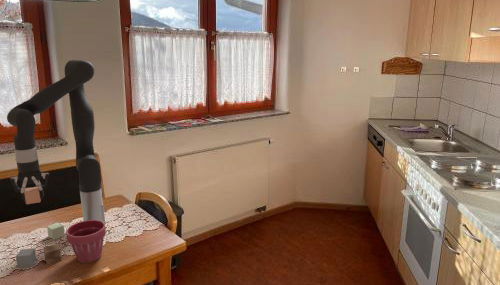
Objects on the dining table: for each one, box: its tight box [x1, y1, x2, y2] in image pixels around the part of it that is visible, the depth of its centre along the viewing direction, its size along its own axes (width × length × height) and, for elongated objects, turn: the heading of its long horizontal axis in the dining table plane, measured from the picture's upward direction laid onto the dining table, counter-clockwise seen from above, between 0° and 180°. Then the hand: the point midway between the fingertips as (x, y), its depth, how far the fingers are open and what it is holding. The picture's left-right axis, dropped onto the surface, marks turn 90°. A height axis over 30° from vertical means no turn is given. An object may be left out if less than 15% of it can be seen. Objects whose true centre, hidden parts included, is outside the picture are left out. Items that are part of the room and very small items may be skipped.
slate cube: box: [15, 248, 37, 269], centre depth 152 cm, size 5×5×5 cm
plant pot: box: [65, 220, 107, 264], centre depth 155 cm, size 14×14×13 cm
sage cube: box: [46, 222, 66, 241], centre depth 173 cm, size 5×5×5 cm
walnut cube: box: [43, 243, 62, 265], centre depth 154 cm, size 5×5×5 cm
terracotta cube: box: [24, 186, 42, 205], centre depth 159 cm, size 5×5×5 cm
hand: (33, 199), depth 159 cm, fingers closed on terracotta cube, 5 cm apart
